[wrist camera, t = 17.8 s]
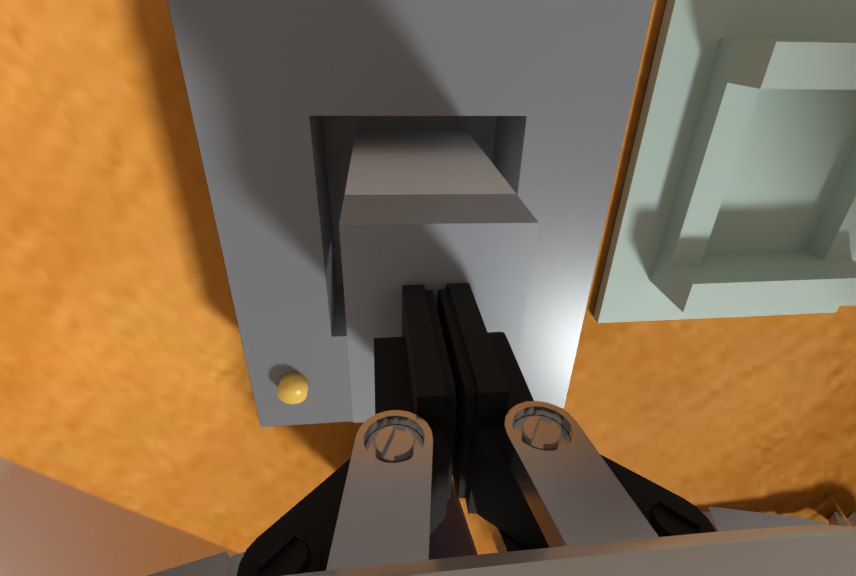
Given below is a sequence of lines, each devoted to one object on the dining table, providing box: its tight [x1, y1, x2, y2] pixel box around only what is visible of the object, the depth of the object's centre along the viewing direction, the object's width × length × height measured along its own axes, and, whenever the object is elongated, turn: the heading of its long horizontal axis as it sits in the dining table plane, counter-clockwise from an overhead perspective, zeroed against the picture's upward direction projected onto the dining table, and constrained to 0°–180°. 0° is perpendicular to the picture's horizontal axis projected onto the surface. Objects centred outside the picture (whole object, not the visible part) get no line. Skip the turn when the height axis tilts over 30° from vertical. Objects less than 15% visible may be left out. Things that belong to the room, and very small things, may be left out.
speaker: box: [429, 480, 478, 560], centre depth 26 cm, size 8×6×10 cm
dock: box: [167, 0, 654, 427], centre depth 19 cm, size 14×18×5 cm
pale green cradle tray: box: [593, 0, 856, 323], centre depth 21 cm, size 14×16×4 cm
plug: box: [339, 129, 539, 423], centre depth 16 cm, size 4×6×10 cm
